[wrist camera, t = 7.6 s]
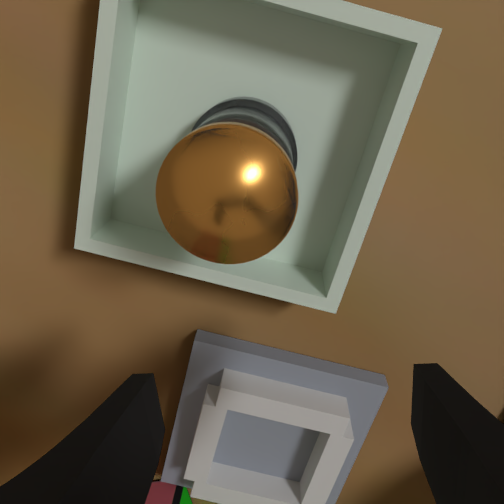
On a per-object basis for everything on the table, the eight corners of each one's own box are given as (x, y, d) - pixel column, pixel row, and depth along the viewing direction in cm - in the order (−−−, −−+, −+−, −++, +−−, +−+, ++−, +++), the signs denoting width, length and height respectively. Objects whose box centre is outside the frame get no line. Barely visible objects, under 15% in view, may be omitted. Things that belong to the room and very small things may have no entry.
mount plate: (384, 375, 25) (395, 408, 22) (326, 504, 29) (329, 544, 26) (197, 329, 24) (188, 358, 22) (164, 467, 28) (154, 504, 26)
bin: (418, 31, 18) (442, 28, 15) (329, 281, 23) (335, 313, 20) (134, -48, 18) (106, -66, 15) (99, 223, 22) (73, 248, 19)
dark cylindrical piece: (299, 197, 21) (307, 264, 14) (200, 204, 21) (164, 273, 15) (292, 91, 19) (298, 112, 12) (184, 101, 19) (137, 127, 13)
